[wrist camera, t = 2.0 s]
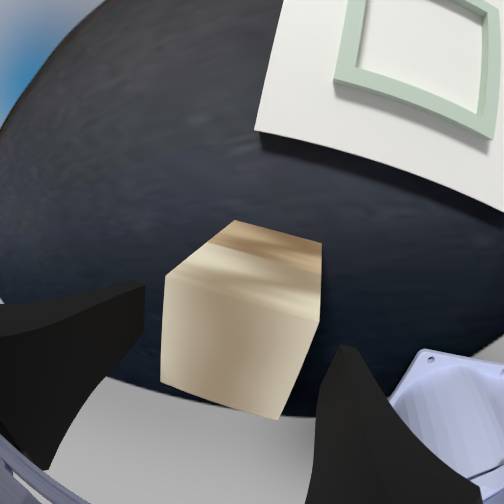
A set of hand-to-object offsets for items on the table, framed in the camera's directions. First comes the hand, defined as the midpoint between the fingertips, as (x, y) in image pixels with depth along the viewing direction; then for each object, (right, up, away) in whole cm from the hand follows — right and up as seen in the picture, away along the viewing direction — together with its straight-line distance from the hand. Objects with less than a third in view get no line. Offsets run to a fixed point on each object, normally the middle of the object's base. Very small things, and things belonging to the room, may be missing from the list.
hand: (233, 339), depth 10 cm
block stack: (+1, +2, +6) cm, 6 cm away
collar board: (+9, +13, 0) cm, 16 cm away
